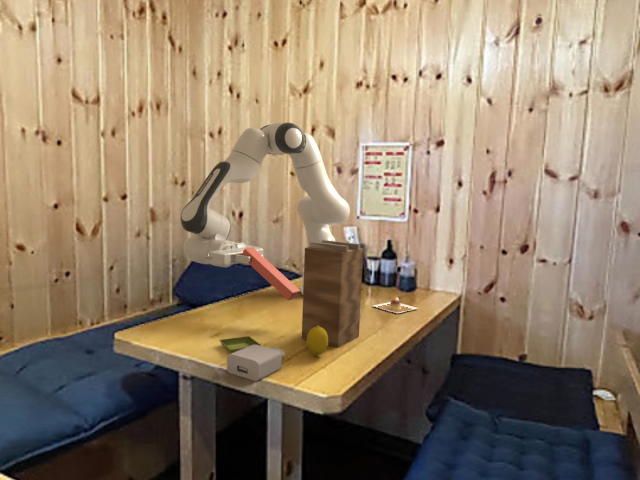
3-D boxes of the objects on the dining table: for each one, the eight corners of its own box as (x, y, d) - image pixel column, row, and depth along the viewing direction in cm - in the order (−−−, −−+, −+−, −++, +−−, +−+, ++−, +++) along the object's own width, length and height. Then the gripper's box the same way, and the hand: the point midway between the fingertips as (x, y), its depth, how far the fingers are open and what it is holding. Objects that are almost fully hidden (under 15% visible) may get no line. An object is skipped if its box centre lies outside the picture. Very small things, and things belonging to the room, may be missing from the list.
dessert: (371, 308, 180) (372, 295, 179) (393, 304, 188) (393, 291, 187) (397, 316, 171) (397, 302, 171) (418, 311, 179) (419, 298, 178)
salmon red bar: (249, 254, 159) (253, 247, 158) (296, 298, 151) (300, 290, 149) (240, 256, 156) (244, 248, 155) (288, 300, 147) (292, 292, 146)
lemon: (311, 360, 124) (312, 329, 123) (302, 353, 129) (303, 323, 128) (331, 358, 126) (332, 327, 125) (322, 351, 131) (323, 321, 130)
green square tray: (261, 352, 129) (262, 345, 129) (229, 357, 125) (230, 349, 125) (249, 343, 137) (249, 335, 137) (218, 347, 132) (218, 339, 132)
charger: (296, 362, 123) (258, 382, 110) (266, 354, 128) (226, 372, 115) (296, 344, 122) (258, 361, 109) (266, 337, 127) (227, 353, 114)
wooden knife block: (324, 329, 151) (327, 239, 148) (358, 336, 145) (363, 243, 141) (301, 338, 141) (305, 242, 138) (337, 347, 135) (342, 247, 131)
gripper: (200, 246, 154) (233, 251, 146) (244, 241, 171) (276, 245, 163) (199, 266, 154) (233, 272, 147) (243, 259, 171) (275, 264, 164)
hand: (256, 258), depth 155 cm, fingers closed on salmon red bar, 4 cm apart
